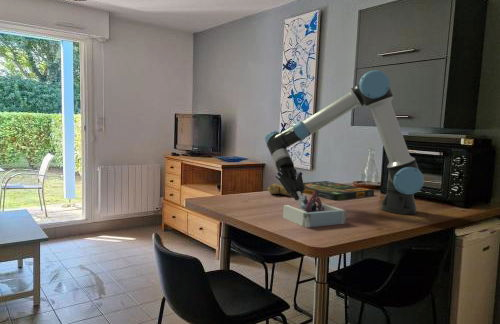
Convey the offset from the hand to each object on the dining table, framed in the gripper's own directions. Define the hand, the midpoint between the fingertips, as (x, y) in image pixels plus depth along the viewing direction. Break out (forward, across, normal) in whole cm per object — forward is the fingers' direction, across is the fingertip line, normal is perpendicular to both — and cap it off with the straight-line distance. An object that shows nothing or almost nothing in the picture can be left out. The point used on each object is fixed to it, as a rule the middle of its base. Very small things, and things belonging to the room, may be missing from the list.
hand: (302, 206), depth 154 cm
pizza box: (-27, -51, -34) cm, 67 cm away
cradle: (+8, 0, +2) cm, 8 cm away
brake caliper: (+7, -1, 0) cm, 7 cm away
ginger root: (-28, -18, -34) cm, 47 cm away
